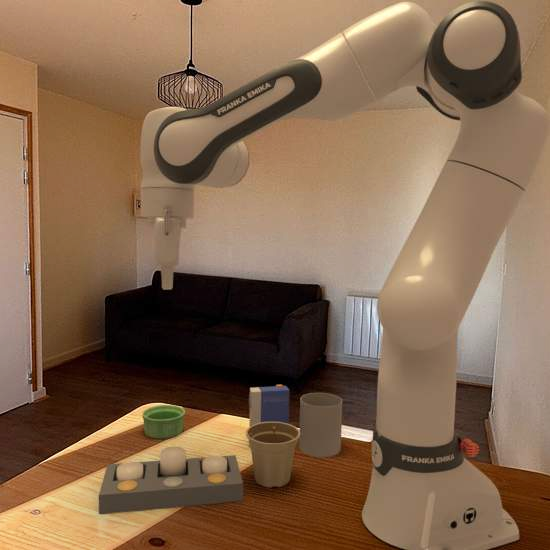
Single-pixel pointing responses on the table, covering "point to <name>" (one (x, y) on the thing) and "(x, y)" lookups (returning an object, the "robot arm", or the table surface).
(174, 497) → the board
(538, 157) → the robot arm
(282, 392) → the walkman
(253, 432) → the flower pot
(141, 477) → the button
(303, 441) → the cup
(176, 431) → the ramekin
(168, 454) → the button
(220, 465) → the button
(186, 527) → the table surface
